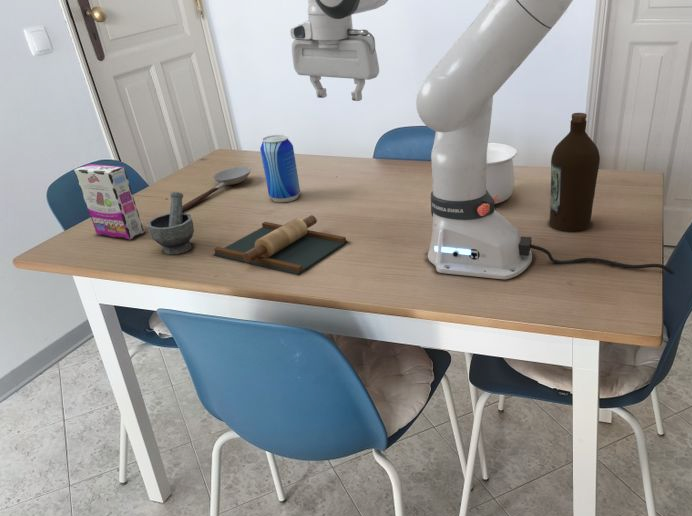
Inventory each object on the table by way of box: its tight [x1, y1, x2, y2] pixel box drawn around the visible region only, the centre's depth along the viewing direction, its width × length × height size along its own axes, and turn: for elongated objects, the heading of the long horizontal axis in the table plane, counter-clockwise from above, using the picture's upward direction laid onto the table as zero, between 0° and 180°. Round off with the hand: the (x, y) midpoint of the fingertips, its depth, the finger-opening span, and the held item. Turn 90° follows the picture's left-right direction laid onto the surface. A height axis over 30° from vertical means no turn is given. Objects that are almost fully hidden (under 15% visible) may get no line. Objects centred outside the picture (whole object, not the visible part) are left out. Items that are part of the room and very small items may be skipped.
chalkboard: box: [213, 221, 348, 276], centre depth 143 cm, size 24×18×2 cm
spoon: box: [182, 166, 252, 212], centre depth 174 cm, size 11×33×3 cm, turn 158°
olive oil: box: [549, 112, 601, 232], centre depth 142 cm, size 11×11×25 cm
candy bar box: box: [73, 163, 145, 241], centre depth 150 cm, size 11×5×16 cm, turn 68°
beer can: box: [259, 134, 301, 203], centre depth 167 cm, size 8×8×16 cm
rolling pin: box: [243, 214, 318, 264], centre depth 141 cm, size 4×23×4 cm, turn 152°
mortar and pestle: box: [147, 191, 195, 255], centre depth 143 cm, size 11×9×12 cm
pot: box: [486, 141, 518, 205], centre depth 161 cm, size 22×17×12 cm
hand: (339, 98), depth 138 cm, fingers open, 8 cm apart
